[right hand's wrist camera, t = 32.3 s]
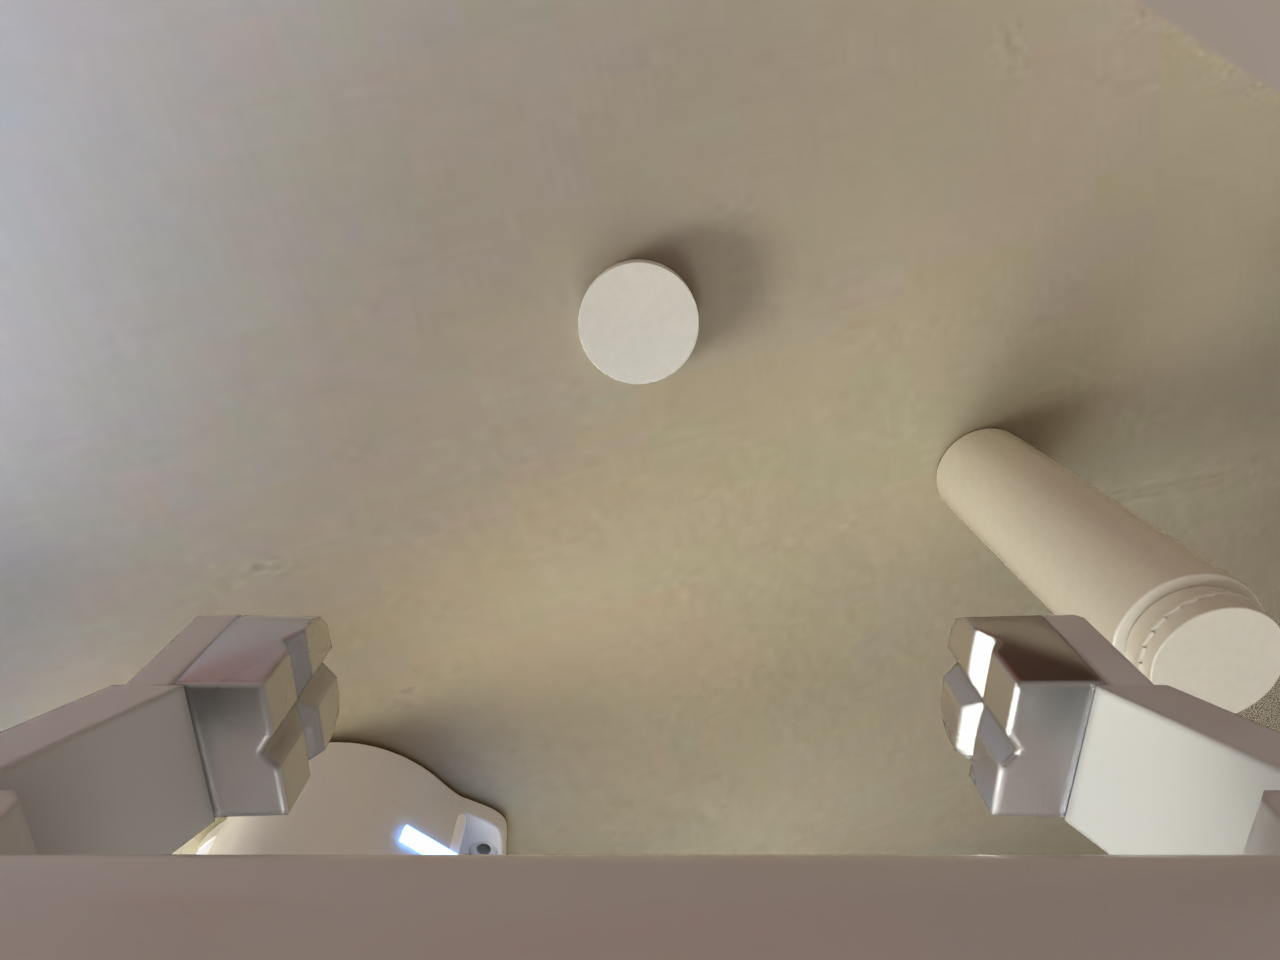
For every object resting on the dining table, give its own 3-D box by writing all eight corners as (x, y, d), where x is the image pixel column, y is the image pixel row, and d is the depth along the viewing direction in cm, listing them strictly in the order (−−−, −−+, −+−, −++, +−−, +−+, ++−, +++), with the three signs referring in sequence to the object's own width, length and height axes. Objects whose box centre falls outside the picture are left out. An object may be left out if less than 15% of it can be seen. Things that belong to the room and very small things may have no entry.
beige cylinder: (922, 454, 39) (1118, 637, 23) (1013, 411, 39) (1282, 569, 22) (954, 531, 41) (1161, 753, 25) (1043, 491, 40) (1315, 694, 24)
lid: (712, 279, 36) (715, 283, 35) (676, 390, 38) (677, 398, 37) (598, 243, 36) (596, 245, 34) (567, 357, 38) (564, 364, 36)
